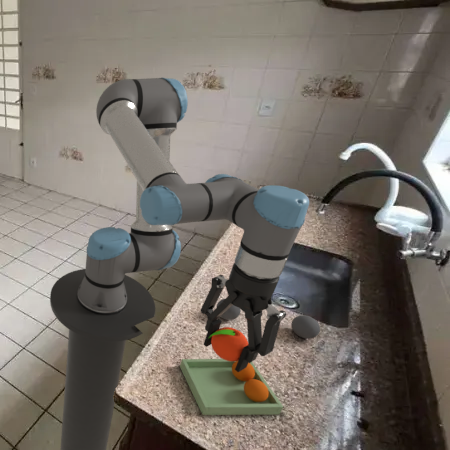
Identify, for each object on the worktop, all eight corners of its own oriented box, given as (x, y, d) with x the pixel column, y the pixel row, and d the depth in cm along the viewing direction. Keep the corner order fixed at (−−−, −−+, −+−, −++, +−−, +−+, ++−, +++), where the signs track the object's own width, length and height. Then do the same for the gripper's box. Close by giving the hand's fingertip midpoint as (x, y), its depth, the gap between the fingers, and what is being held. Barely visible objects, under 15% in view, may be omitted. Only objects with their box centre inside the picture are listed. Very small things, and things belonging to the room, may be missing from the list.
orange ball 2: (236, 393, 79) (242, 379, 77) (249, 385, 81) (255, 371, 79) (256, 410, 75) (263, 396, 73) (269, 401, 77) (276, 387, 75)
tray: (202, 414, 75) (205, 407, 74) (179, 366, 86) (181, 359, 85) (279, 414, 75) (283, 406, 74) (246, 365, 86) (249, 358, 85)
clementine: (208, 366, 74) (216, 341, 70) (198, 341, 80) (206, 317, 76) (248, 370, 73) (259, 346, 69) (235, 344, 79) (245, 321, 75)
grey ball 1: (209, 314, 102) (214, 298, 99) (223, 307, 105) (228, 291, 102) (228, 327, 98) (234, 311, 95) (241, 320, 100) (248, 304, 97)
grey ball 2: (283, 331, 96) (291, 315, 93) (295, 324, 98) (303, 307, 96) (307, 346, 91) (315, 329, 88) (319, 338, 94) (328, 321, 91)
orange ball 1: (225, 373, 84) (230, 360, 81) (237, 366, 85) (242, 353, 83) (243, 388, 80) (249, 375, 78) (255, 380, 82) (262, 367, 80)
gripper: (328, 292, 59) (281, 383, 69) (221, 239, 74) (197, 320, 85) (302, 307, 56) (258, 399, 66) (197, 248, 71) (175, 331, 82)
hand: (224, 355), depth 76 cm, fingers closed on clementine, 7 cm apart
